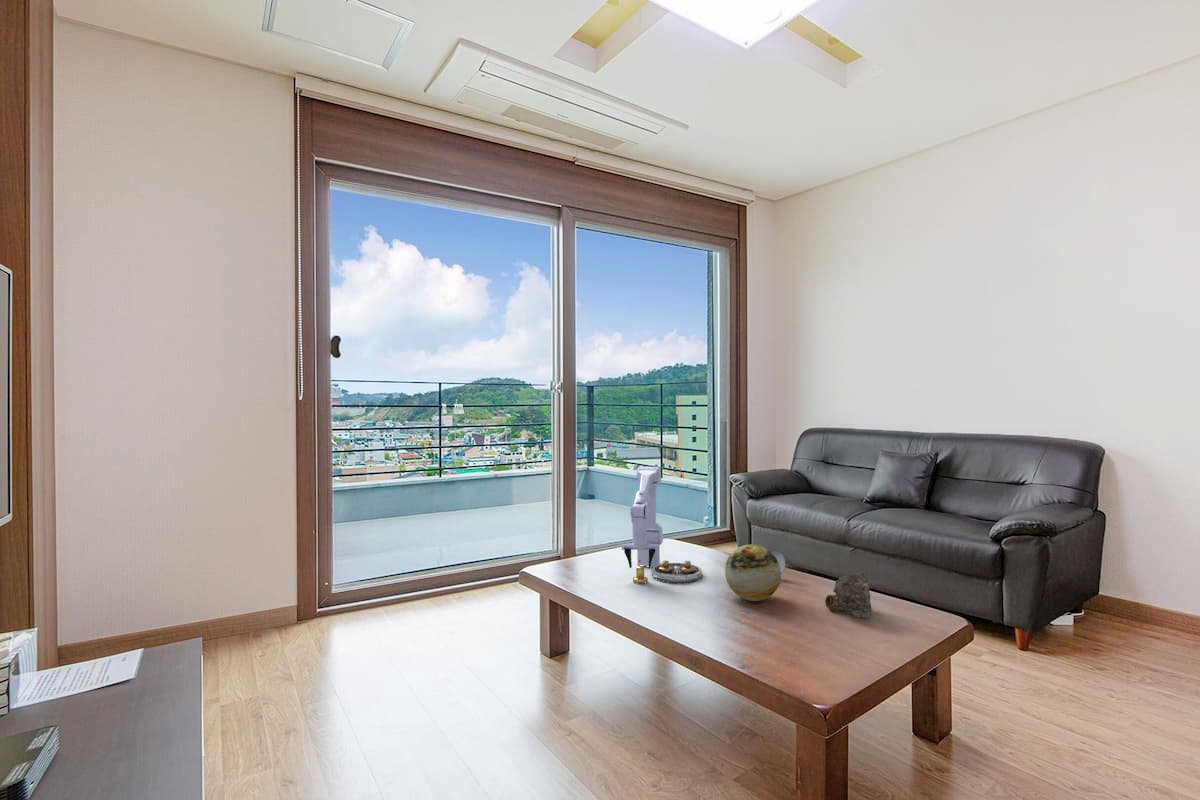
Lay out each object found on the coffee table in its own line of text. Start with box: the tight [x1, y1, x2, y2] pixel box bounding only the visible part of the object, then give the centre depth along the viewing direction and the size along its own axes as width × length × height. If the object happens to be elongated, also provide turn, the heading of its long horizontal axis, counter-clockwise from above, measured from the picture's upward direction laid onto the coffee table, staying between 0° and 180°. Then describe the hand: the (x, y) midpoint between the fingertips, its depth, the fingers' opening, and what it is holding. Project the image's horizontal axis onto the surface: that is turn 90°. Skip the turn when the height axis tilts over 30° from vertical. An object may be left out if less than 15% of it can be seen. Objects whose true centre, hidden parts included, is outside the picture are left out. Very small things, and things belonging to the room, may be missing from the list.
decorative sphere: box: [724, 543, 782, 602], centre depth 222 cm, size 20×20×20 cm
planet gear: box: [632, 565, 649, 584], centre depth 245 cm, size 6×6×6 cm
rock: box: [824, 572, 874, 620], centre depth 206 cm, size 18×14×15 cm
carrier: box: [651, 560, 703, 584], centre depth 253 cm, size 21×21×5 cm
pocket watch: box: [771, 551, 786, 575], centre depth 243 cm, size 10×11×15 cm
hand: (640, 567), depth 245 cm, fingers open, 7 cm apart
